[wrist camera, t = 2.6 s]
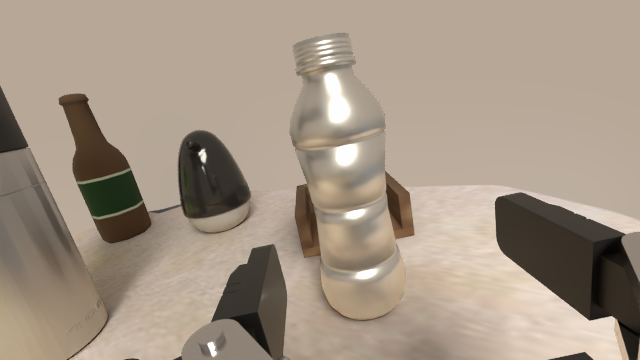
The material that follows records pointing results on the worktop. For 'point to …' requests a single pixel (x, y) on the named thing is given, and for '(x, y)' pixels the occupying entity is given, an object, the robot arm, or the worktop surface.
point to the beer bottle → (104, 176)
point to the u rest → (308, 222)
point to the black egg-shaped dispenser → (211, 183)
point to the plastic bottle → (346, 179)
